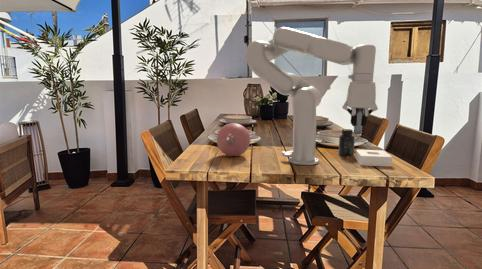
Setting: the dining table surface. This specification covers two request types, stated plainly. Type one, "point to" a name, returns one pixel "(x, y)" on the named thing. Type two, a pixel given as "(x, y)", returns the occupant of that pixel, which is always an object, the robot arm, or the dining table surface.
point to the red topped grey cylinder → (358, 120)
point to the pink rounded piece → (233, 139)
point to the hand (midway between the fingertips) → (358, 125)
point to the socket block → (373, 158)
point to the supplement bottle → (346, 143)
